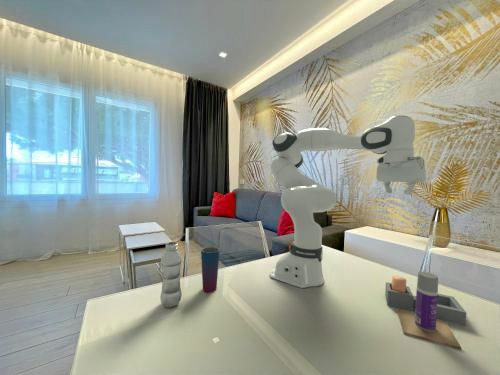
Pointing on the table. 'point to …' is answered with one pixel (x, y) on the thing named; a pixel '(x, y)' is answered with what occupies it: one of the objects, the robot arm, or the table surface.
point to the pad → (438, 336)
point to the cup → (210, 268)
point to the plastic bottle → (171, 275)
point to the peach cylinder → (399, 284)
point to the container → (426, 301)
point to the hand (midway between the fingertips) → (397, 193)
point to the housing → (445, 304)
